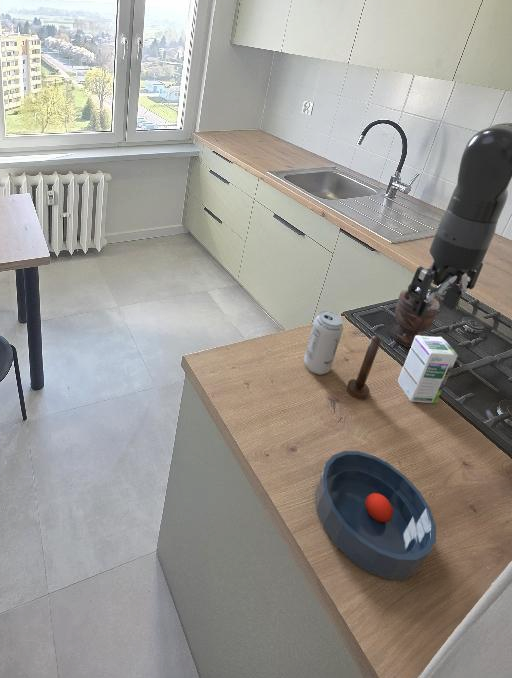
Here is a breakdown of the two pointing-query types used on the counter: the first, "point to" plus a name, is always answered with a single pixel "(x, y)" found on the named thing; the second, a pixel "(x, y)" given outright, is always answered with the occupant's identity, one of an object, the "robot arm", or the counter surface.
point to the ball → (379, 507)
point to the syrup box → (426, 369)
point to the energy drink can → (323, 342)
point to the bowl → (361, 529)
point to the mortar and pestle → (411, 319)
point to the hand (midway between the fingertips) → (432, 310)
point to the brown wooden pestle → (364, 371)
